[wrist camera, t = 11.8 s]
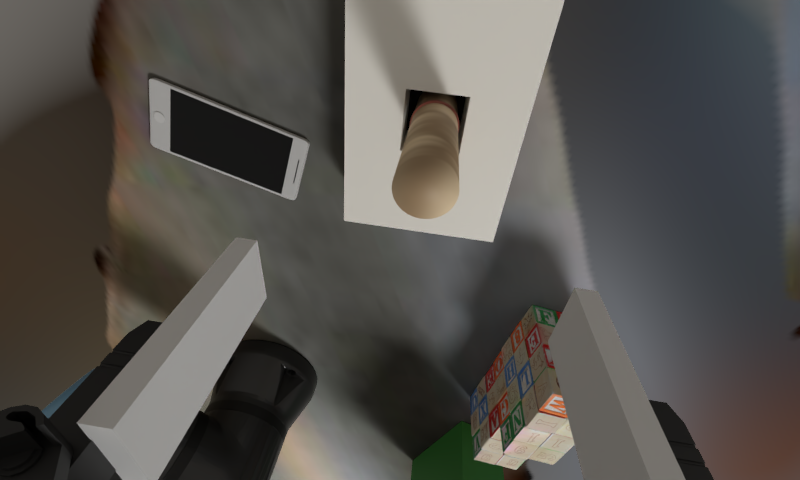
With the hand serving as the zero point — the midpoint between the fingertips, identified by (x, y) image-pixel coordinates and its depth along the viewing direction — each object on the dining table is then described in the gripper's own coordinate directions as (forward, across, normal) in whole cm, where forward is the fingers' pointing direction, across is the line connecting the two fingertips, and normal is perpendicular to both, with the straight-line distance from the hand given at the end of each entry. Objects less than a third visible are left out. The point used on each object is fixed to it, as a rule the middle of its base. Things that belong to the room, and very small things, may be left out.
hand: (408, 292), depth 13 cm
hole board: (+24, 0, 0) cm, 24 cm away
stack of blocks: (+24, -16, +32) cm, 44 cm away
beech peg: (+24, 0, 0) cm, 24 cm away
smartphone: (+25, +20, +6) cm, 32 cm away
